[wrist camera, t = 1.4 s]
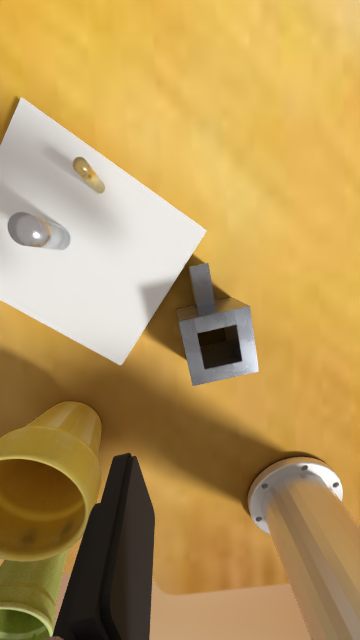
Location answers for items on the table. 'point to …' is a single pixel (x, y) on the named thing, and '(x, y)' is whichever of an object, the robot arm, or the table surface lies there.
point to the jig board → (86, 239)
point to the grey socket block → (214, 314)
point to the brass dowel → (88, 174)
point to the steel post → (37, 232)
